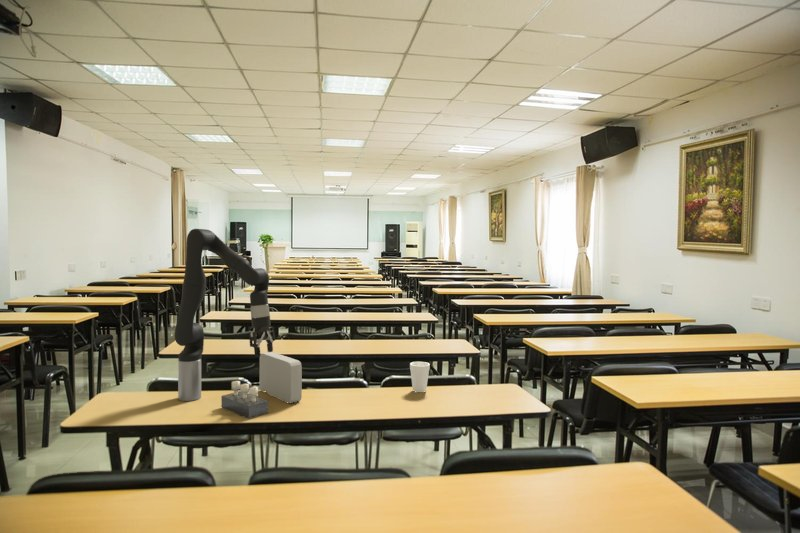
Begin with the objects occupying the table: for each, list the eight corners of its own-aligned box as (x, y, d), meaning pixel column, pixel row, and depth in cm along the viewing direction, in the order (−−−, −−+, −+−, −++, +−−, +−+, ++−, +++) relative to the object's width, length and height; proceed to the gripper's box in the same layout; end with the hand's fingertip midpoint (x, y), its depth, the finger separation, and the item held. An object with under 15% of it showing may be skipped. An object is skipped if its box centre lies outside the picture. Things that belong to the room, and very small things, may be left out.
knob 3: (247, 406, 186) (247, 387, 186) (254, 404, 189) (254, 385, 188) (252, 408, 184) (252, 389, 184) (259, 406, 187) (259, 387, 186)
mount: (221, 407, 193) (221, 395, 193) (240, 402, 200) (240, 390, 200) (248, 418, 181) (248, 406, 181) (268, 412, 188) (268, 400, 188)
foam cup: (410, 387, 226) (411, 361, 225) (429, 388, 225) (430, 361, 224) (409, 393, 216) (409, 365, 216) (428, 394, 215) (429, 366, 215)
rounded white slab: (306, 401, 203) (306, 360, 203) (290, 405, 198) (291, 363, 197) (274, 387, 224) (274, 350, 223) (259, 390, 218) (259, 352, 218)
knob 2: (238, 403, 190) (238, 384, 190) (245, 401, 193) (246, 382, 193) (243, 404, 188) (243, 386, 188) (250, 402, 191) (250, 384, 190)
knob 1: (230, 399, 194) (230, 381, 194) (237, 397, 197) (237, 380, 197) (234, 401, 192) (234, 383, 192) (241, 399, 195) (241, 381, 195)
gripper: (263, 314, 202) (267, 350, 202) (242, 318, 189) (245, 358, 189) (277, 313, 200) (281, 350, 200) (257, 317, 187) (261, 357, 187)
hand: (264, 354), depth 195 cm, fingers open, 8 cm apart
